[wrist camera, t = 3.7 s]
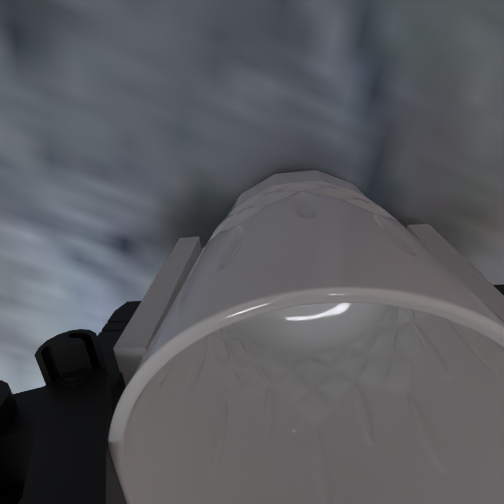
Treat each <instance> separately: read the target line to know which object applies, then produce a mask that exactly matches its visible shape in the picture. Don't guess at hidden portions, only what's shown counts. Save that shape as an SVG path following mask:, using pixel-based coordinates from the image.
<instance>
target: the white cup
mask: <svg viewBox="0 0 504 504" xmlns="http://www.w3.org/2000/svg"><path fill="white" fill-rule="evenodd" d="M108 447H109V451H110V454H111V457H112V461H113V464H114V467H115V470H116V473H117V475H118V478H119V481H120V484H121V487H122V490H123V493H124V496H125V499H126V502H127V504H504V320H503V319H502V318H501V317H500V316H499V315H498V314H496V313H495V312H494V311H493V310H492V309H491V308H490V307H489V306H488V305H487V304H486V303H485V302H484V301H483V300H482V299H481V298H480V297H478V296H477V295H476V294H475V293H474V292H473V291H472V290H471V289H470V288H469V287H468V286H467V285H466V284H465V283H464V282H463V281H462V280H461V279H459V278H458V277H457V276H456V275H455V274H454V273H453V272H452V271H451V270H450V269H449V268H448V267H447V266H446V265H445V264H444V263H443V262H442V261H441V260H440V259H439V258H438V257H437V256H435V255H434V254H433V253H432V252H431V251H430V250H429V249H428V248H427V247H426V246H425V245H424V244H423V243H422V242H421V241H420V240H419V239H418V238H417V237H416V236H415V235H413V234H412V233H411V232H410V231H409V230H408V229H407V228H406V227H405V226H403V225H402V224H401V223H400V222H398V221H397V220H396V219H395V218H394V217H393V216H392V215H390V214H389V213H388V212H387V211H386V210H385V209H383V208H382V207H381V206H379V205H378V204H376V203H375V202H373V201H371V200H370V199H368V198H367V197H366V196H365V195H364V194H363V193H362V192H361V191H360V190H359V189H358V188H357V187H356V186H355V185H354V184H352V183H350V182H347V181H344V180H342V179H339V178H336V177H334V176H331V175H328V174H326V173H323V172H320V171H318V170H309V171H298V172H287V173H276V174H274V175H272V176H270V177H268V178H267V179H265V180H263V181H262V182H260V183H258V184H257V185H255V186H253V187H252V188H250V189H248V190H246V191H245V192H243V193H241V194H240V196H239V197H238V199H237V200H236V202H235V203H234V205H233V207H232V208H231V210H230V211H229V213H228V214H227V216H226V217H225V219H224V220H223V222H222V223H221V224H220V225H219V226H218V227H217V228H216V229H215V231H214V232H213V234H212V236H211V237H210V239H209V241H208V242H207V244H206V245H205V246H204V248H203V250H202V251H201V253H200V255H199V257H198V258H197V260H196V262H195V264H194V265H193V267H192V269H191V271H190V273H189V274H188V276H187V278H186V280H185V282H184V284H183V285H182V287H181V289H180V291H179V293H178V294H177V296H176V298H175V300H174V302H173V304H172V305H171V307H170V309H169V311H168V313H167V315H166V316H165V318H164V320H163V322H162V324H161V325H160V327H159V329H158V331H157V333H156V334H155V336H154V338H153V340H152V342H151V343H150V345H149V347H148V349H147V350H146V352H145V354H144V356H143V358H142V359H141V361H140V363H139V365H138V367H137V368H136V370H135V372H134V374H133V375H132V377H131V379H130V381H129V382H128V384H127V386H126V388H125V390H124V391H123V393H122V395H121V397H120V399H119V401H118V404H117V406H116V409H115V411H114V414H113V418H112V421H111V426H110V431H109V438H108Z"/></svg>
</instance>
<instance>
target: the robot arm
mask: <svg viewBox="0 0 504 504" xmlns="http://www.w3.org/2000/svg"><path fill="white" fill-rule="evenodd" d="M407 229H408V230H409V231H410V232H411V233H412V234H413V235H415V236H416V237H417V238H418V239H419V240H420V241H421V242H422V243H423V244H424V245H425V246H426V247H427V248H428V249H429V250H430V251H431V252H432V253H433V254H434V255H435V256H437V257H438V258H439V259H440V260H441V261H442V262H443V263H444V264H445V265H446V266H447V267H448V268H449V269H450V270H451V271H452V272H453V273H454V274H455V275H456V276H457V277H458V278H459V279H461V280H462V281H463V282H464V283H465V284H466V285H467V286H468V287H469V288H470V289H471V290H472V291H473V292H474V293H475V294H476V295H477V296H478V297H480V298H481V299H482V300H483V301H484V302H485V303H486V304H487V305H488V306H489V307H490V308H491V309H492V310H493V311H494V312H495V313H496V314H498V315H499V316H500V317H501V318H502V319H503V320H504V285H492V284H491V283H490V282H489V281H488V280H487V279H486V278H485V277H484V276H483V275H482V274H481V273H480V272H479V271H478V270H477V269H475V268H474V267H473V266H472V265H471V264H470V263H469V262H468V261H467V260H466V259H465V258H464V257H463V256H462V255H461V254H460V253H459V252H458V251H457V250H456V249H455V248H454V247H453V246H452V245H451V244H450V243H449V242H447V241H446V240H445V239H444V238H443V237H442V236H441V235H440V234H439V233H438V232H437V231H436V230H435V229H434V228H433V227H432V226H431V225H430V224H418V225H407ZM200 253H201V245H200V238H199V237H187V238H179V240H178V242H177V243H176V245H175V247H174V248H173V250H172V252H171V253H170V255H169V257H168V258H167V260H166V261H165V263H164V265H163V266H162V268H161V270H160V271H159V273H158V275H157V276H156V278H155V280H154V281H153V283H152V285H151V286H150V288H149V290H148V291H147V293H146V295H145V296H144V298H143V300H142V301H132V302H126V303H125V304H124V305H122V306H121V307H120V308H118V309H117V310H115V311H114V313H113V314H112V316H111V317H110V319H109V320H108V323H106V325H105V326H104V327H103V329H102V332H100V333H99V335H98V336H97V335H96V333H94V332H93V331H91V330H84V329H78V330H72V331H67V332H65V333H62V334H59V335H56V336H55V337H53V338H51V339H49V340H47V341H46V342H45V343H44V344H43V345H41V346H40V347H39V348H38V350H37V352H36V353H35V357H36V360H37V363H38V365H39V368H40V370H41V373H42V375H43V378H44V381H45V383H46V386H43V387H40V388H36V389H32V390H28V391H24V392H20V393H16V394H12V392H11V389H10V387H9V385H8V383H6V382H4V381H2V380H0V504H127V502H126V499H125V496H124V493H123V490H122V487H121V484H120V481H119V478H118V475H117V473H116V470H115V467H114V464H113V461H112V457H111V454H110V451H109V447H108V438H109V431H110V426H111V421H112V418H113V414H114V411H115V409H116V406H117V404H118V401H119V399H120V397H121V395H122V393H123V391H124V390H125V388H126V386H127V384H128V382H129V381H130V379H131V377H132V375H133V374H134V372H135V370H136V368H137V367H138V365H139V363H140V361H141V359H142V358H143V356H144V354H145V352H146V350H147V349H148V347H149V345H150V343H151V342H152V340H153V338H154V336H155V334H156V333H157V331H158V329H159V327H160V325H161V324H162V322H163V320H164V318H165V316H166V315H167V313H168V311H169V309H170V307H171V305H172V304H173V302H174V300H175V298H176V296H177V294H178V293H179V291H180V289H181V287H182V285H183V284H184V282H185V280H186V278H187V276H188V274H189V273H190V271H191V269H192V267H193V265H194V264H195V262H196V260H197V258H198V257H199V255H200Z"/></svg>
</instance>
